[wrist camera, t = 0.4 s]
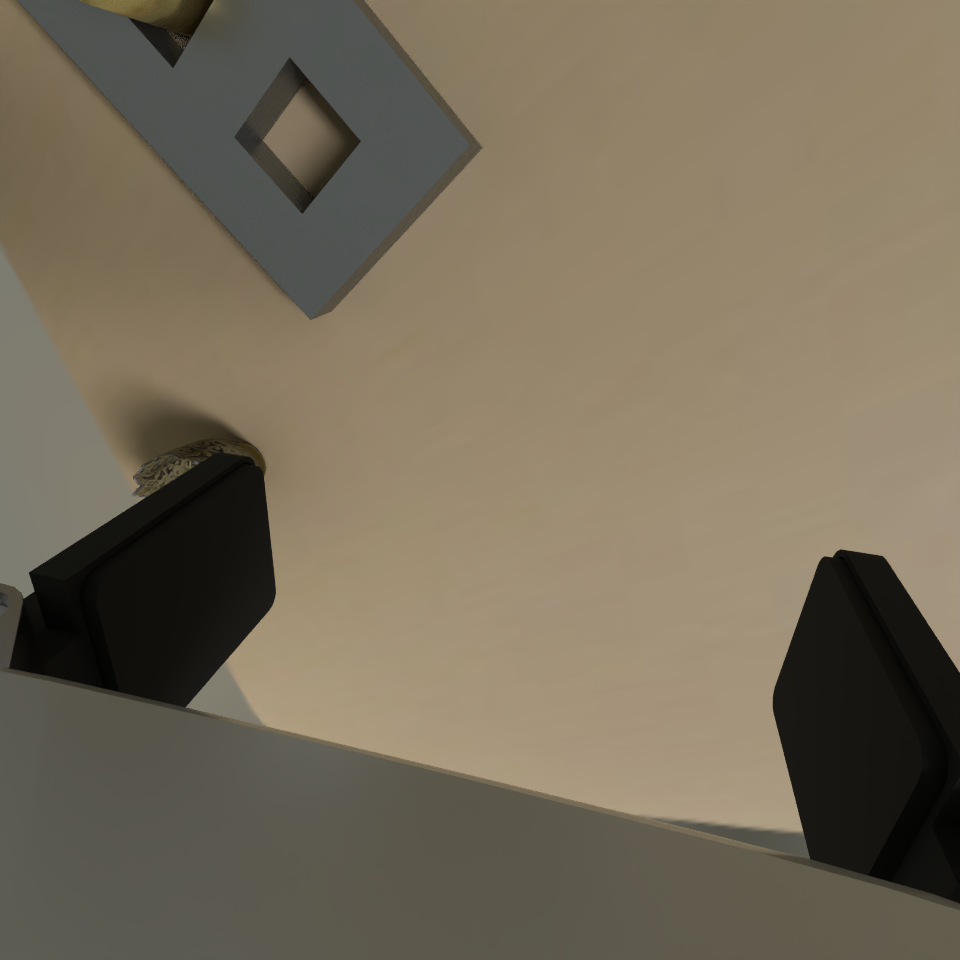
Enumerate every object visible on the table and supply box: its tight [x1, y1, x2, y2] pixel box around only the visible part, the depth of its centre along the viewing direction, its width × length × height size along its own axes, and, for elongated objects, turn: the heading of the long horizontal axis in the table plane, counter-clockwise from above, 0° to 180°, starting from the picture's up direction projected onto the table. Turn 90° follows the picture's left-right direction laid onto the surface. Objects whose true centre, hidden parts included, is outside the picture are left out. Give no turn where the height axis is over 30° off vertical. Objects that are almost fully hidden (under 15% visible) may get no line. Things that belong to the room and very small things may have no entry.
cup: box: [132, 439, 266, 499], centre depth 45 cm, size 8×7×8 cm
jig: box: [18, 0, 482, 320], centre depth 35 cm, size 14×24×3 cm, turn 43°
